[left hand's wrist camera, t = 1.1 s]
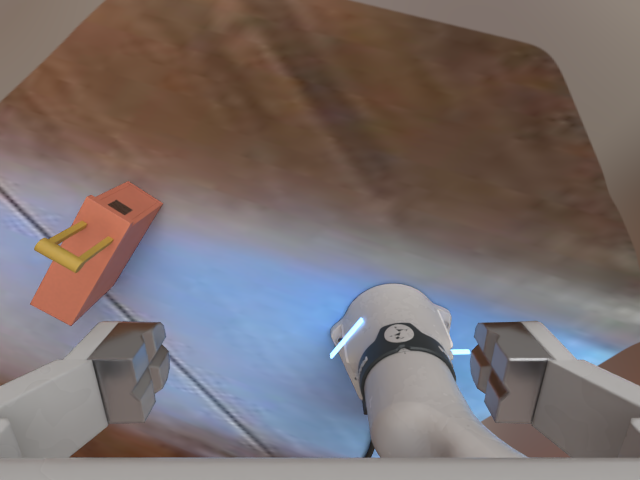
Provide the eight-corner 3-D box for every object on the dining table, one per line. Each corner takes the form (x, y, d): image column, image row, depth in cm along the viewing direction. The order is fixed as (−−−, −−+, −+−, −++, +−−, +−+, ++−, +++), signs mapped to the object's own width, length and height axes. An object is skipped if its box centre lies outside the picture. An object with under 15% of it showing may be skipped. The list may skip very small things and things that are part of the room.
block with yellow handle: (91, 194, 44) (41, 217, 36) (134, 221, 45) (95, 249, 37) (34, 300, 49) (-20, 340, 41) (75, 321, 50) (29, 365, 42)
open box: (128, 180, 53) (88, 200, 44) (163, 203, 55) (131, 226, 45) (80, 266, 58) (35, 300, 49) (113, 285, 59) (75, 321, 50)
